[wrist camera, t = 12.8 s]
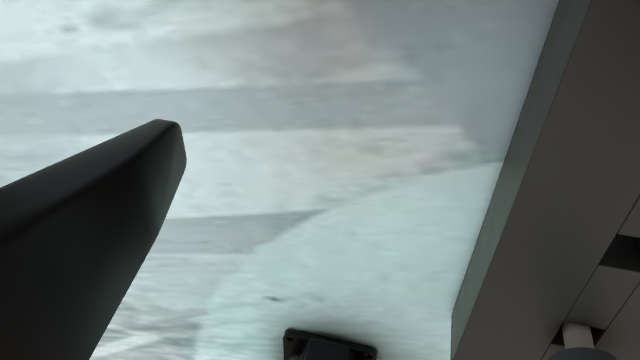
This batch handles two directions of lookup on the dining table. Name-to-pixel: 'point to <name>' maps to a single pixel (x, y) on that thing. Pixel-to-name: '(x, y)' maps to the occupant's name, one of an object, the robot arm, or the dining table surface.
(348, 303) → the dining table surface
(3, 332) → the robot arm
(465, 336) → the rack
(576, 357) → the screwdriver
